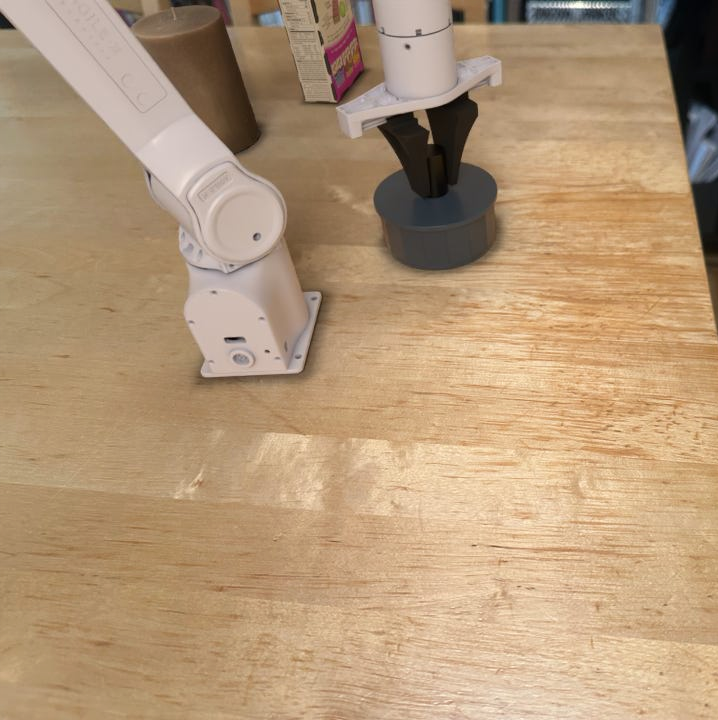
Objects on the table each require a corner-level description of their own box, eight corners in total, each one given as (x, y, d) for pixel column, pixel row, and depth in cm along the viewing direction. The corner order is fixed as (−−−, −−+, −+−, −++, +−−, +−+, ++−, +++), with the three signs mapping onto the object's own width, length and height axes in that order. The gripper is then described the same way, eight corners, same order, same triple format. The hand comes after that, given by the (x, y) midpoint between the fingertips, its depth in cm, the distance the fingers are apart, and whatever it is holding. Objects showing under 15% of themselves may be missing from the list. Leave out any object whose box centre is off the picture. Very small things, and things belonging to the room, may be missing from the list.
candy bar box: (332, 69, 93) (302, -65, 81) (365, 70, 92) (340, -66, 81) (301, 103, 85) (264, -39, 74) (337, 104, 85) (305, -39, 73)
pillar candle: (276, 131, 80) (237, -2, 70) (214, 167, 75) (161, 28, 64) (224, 116, 84) (178, -13, 74) (161, 148, 79) (103, 15, 68)
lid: (499, 234, 55) (496, 180, 52) (368, 241, 56) (356, 188, 52) (496, 167, 63) (494, 116, 60) (381, 174, 64) (372, 124, 60)
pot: (496, 267, 58) (494, 225, 55) (381, 273, 59) (372, 232, 56) (494, 204, 66) (492, 164, 62) (392, 210, 66) (384, 170, 63)
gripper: (463, -11, 54) (474, 143, 63) (303, 36, 48) (342, 197, 58) (516, 8, 50) (519, 171, 59) (347, 62, 44) (381, 231, 54)
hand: (434, 186), depth 58 cm, fingers closed on lid, 2 cm apart
